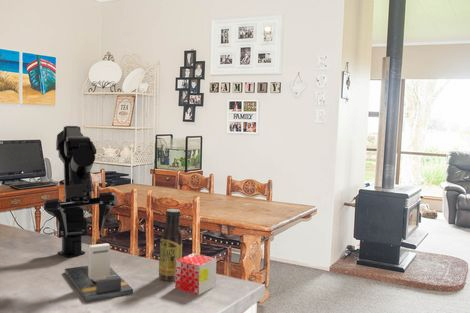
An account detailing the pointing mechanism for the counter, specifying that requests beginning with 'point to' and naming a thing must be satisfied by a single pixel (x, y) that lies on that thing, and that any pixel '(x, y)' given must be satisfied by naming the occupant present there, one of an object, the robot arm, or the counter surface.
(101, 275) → the fader tab
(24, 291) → the counter surface
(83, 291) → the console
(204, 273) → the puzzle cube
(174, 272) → the sauce bottle
